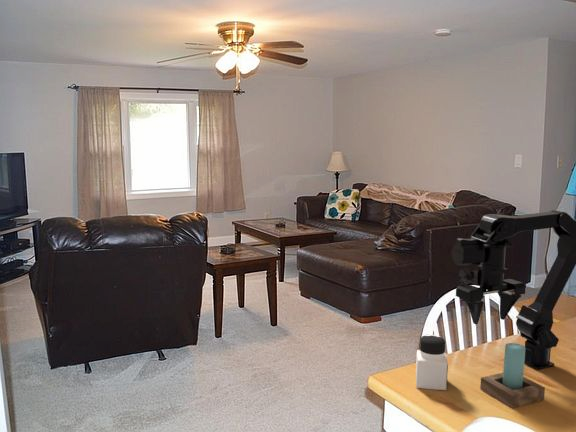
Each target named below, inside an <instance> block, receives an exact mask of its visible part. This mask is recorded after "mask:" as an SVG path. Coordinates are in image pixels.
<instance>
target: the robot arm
mask: <svg viewBox="0 0 576 432" xmlns="http://www.w3.org/2000/svg"><path fill="white" fill-rule="evenodd" d="M545 229H552V230H553V232H554V234H555V235H556V236H558V240H557V244H556V248H557V250H556V251H557V255H556V257H555V260H554V262H553V263H552V266H551V268H550V270H549V271H548V273H547V275H546V277H545V279H544V282H543V283H542V286H541V288H540V289H539V291H538V292H537V293H538V294H536V297H535V299H534V301H533V302H532V303H531V304H529V305H526V304H522V306H521V307H520V310H519V312H518V314H517V315H516V316H515V318H516V321H515V326H516V328H517V330H518V332H519V334H520V337H521V338H524V339H525V341H524V347H525V348H526V349H525V361H524V365H525V364H526V365H528V366H530V367H532V368H534V369H536V370H540V369H545V368H550V367H554V366H555V363H554V362H552V361H551V351H552V348H556V347H557V346H558V343H559V340H560V339H559V337H558V336H557V335H555V333H553V331H552V328H553V325H554V318H553V317H554V316H553V313H554V312H553V310H554V309H555V306H556V305H557V302H558V301H559V299H560V297H561V295H562V293H563V291H564V289H565V287H566V286H567V283H568V281H569V279H570V277H571V275H572V273H573V271H574V270H575V267H576V220H575V219H574V218H573V217H572V216H571V215H570V214H569V213H567V212H565V211H560V210H556V209H555V210H550V211H544V212H543V211H542V212H537V213H528V214H527V213H526V214H519V215H504V214H495V213H487V214H484V215H483V216H482V218H481V219H480V221H479V224H478V225H477V227H476V228H475V230H473V232H472V233H471V235H470V236H469V238H462V237H460V238H457V239H456V243H455V244H454V245H453V247H452V249H451V258H452V261H453V264H455V265H456V266H459V267H460V266H473V265H474V266H476V265H477V266H476V268H475V269H476V270H474V271H473V270H472V271H470V269H469V268H463V269H459V273H458V276H459V277H458V278H459V281H460V282H464V284H462V285H458V286H457V287H456V290H455V297H456V298H459V299H460V300H461V301H464V302H465V303H466V306H467V308H468V310H469V314H470V316H471V320H472V323H473V324H475V325H478V323H479V321H480V319H481V314H482V310H483V307H484V300H483V298H484V296H485V295H490V294H495V293H496V294H498V296H499V319H500V320H502V321H503V320H505V319H506V317H507V316H508V314H509V313H510V312H511V310H512V308H513V307H514V306H515V304H516V302H518V300H519V299H520V298H522V295H526V289H527V287H526V285H525V284H524V282H521V281H519V280H515V279H512V278H507V279H504V276H505V274H508V273H509V272H508V271H509V268H506V267H505V264H506V263H505V261H506V248H512V247H513V248H514V246H515V245H514V243H513V242H512V241H511V240H510V239H509V238H512V237H514V236H515V235H517V234H519V233H523V232H529V231H536V230H537V231H538V230H545ZM472 284H473V285H472ZM474 285H475V286H474Z"/></svg>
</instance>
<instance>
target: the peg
mask: <svg viewBox="0 0 576 432" xmlns="http://www.w3.org/2000/svg"><path fill="white" fill-rule="evenodd" d="M525 349H526V348H525V345H523V344H519V343H515V342H510V343H506V344H505V347H504V357H503V358H504V359H503V372H502V373H503V382H502V385H504V386H506V387H508V388H510V389H511V390H516V389H520V388H522V384H523V377H524V372H525V371H524V370H525V363H524V361H525Z"/></svg>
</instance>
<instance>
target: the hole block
mask: <svg viewBox="0 0 576 432" xmlns="http://www.w3.org/2000/svg"><path fill="white" fill-rule="evenodd" d="M502 382H503V372H500V373H495V374H491V375H487V376H482V377H480V387H479V389H480V390H481V391H483V392H484V393H486V394H488V395H490V396H491V397H493V398H494V399H496V400H497V401H499V402H501V403H503V404H505V405H506V406H508V407H509V408H512V409H513V408H518V407H522V406H525V405H529V404H533V403H536V402H539V401H541V402H542V401H544V400H545V393H546V387H544V385H541V384H539V383H537V382H535V381H533V380H531V379H529V378H527V377H526V376H523V384H522V388H520V389H516V390H511V389H510V388H508V387H506V386H504V385H502Z"/></svg>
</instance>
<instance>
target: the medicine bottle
mask: <svg viewBox="0 0 576 432" xmlns="http://www.w3.org/2000/svg"><path fill="white" fill-rule="evenodd" d="M415 358H416V359H415V361H416V363H415V382H416V383H415V385H416V388H418V389H425V390H427V389H428V390H436V391H437V390H438V391H447V389H448V388H447V387H448V373H449V371H448V369H449V368H448V367H449V363H448V357H447V353H446V340H445V339H444V338H443V337H442V336H439V335H437V334H425V335H421V337H420V338H419V349H417V350H416V357H415Z"/></svg>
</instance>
